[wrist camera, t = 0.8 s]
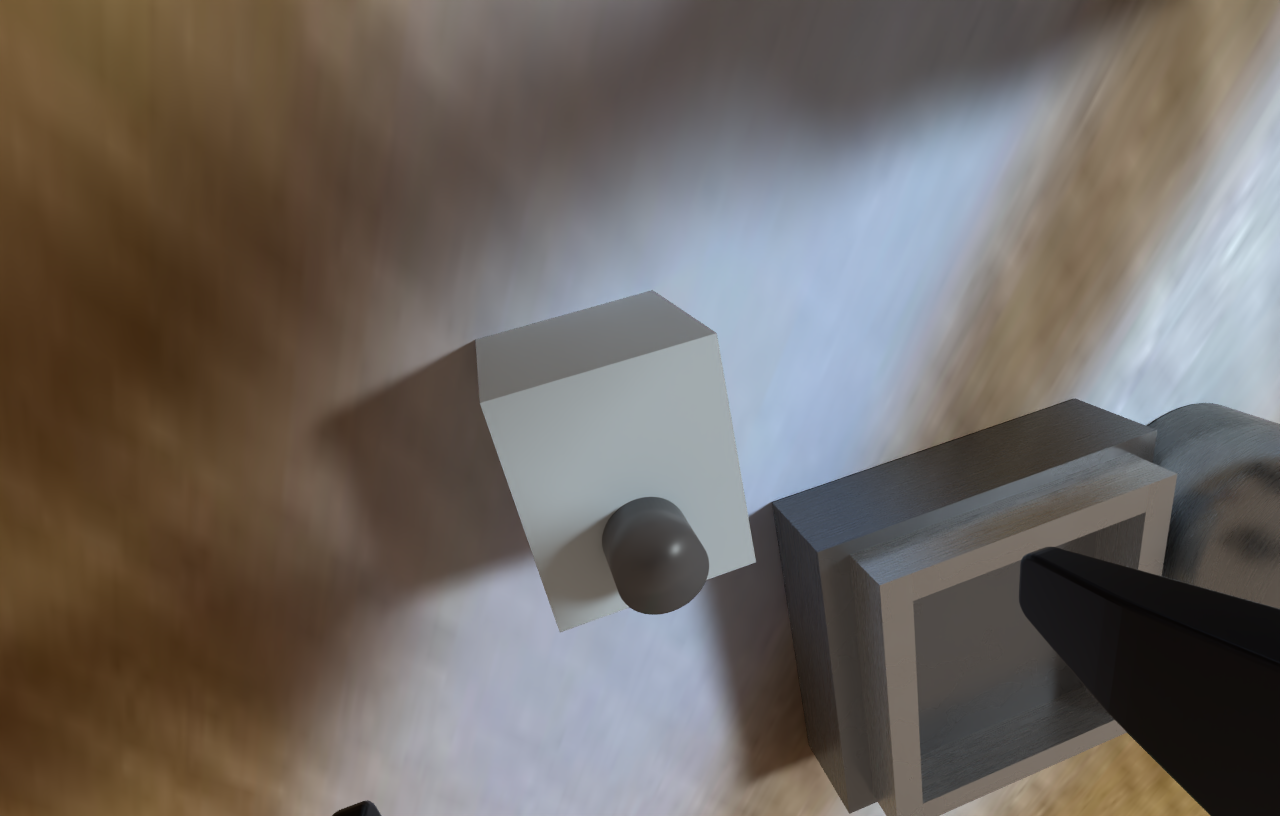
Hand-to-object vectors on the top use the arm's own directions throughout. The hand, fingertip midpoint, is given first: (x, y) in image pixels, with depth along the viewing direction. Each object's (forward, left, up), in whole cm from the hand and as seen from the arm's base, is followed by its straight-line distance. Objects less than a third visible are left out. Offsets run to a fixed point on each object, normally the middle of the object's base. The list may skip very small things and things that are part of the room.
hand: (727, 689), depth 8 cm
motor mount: (-16, +11, -11) cm, 22 cm away
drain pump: (0, 0, -11) cm, 11 cm away
